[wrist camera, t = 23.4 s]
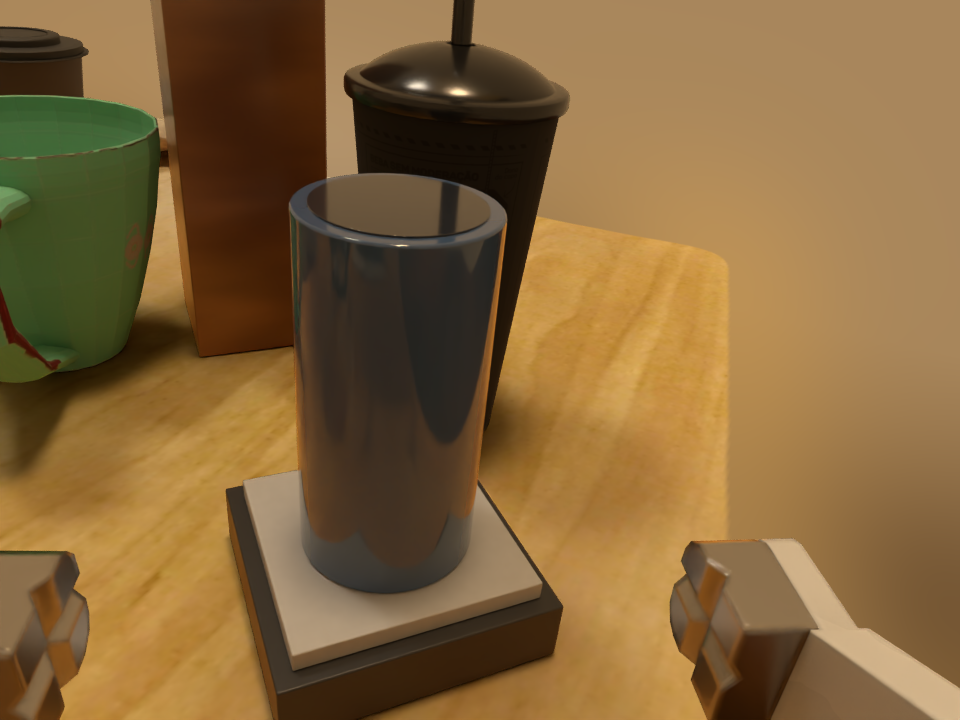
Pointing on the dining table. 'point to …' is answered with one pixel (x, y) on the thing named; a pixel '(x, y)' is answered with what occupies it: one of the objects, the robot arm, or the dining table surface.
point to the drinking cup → (463, 135)
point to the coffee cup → (40, 63)
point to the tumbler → (391, 371)
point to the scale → (380, 613)
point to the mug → (72, 229)
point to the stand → (240, 155)
